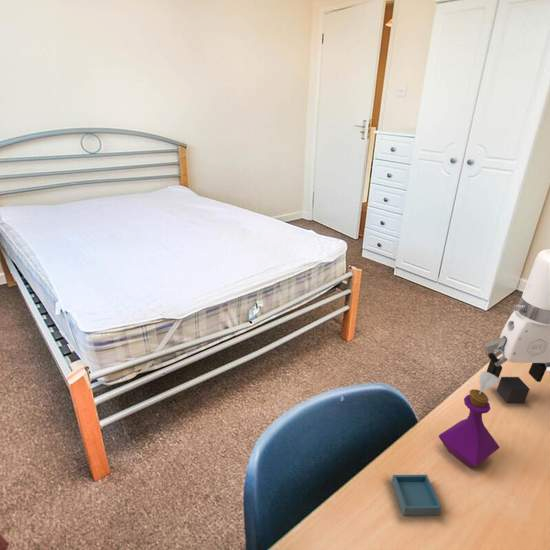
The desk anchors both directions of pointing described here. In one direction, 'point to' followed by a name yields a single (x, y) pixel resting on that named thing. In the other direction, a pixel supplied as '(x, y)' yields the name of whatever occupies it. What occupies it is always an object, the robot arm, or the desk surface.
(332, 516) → the desk surface
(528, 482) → the desk surface
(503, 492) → the desk surface
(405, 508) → the shallow rectangular tray
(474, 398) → the perfume bottle
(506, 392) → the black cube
